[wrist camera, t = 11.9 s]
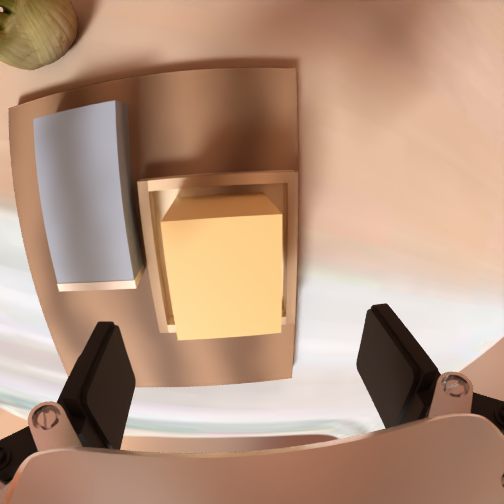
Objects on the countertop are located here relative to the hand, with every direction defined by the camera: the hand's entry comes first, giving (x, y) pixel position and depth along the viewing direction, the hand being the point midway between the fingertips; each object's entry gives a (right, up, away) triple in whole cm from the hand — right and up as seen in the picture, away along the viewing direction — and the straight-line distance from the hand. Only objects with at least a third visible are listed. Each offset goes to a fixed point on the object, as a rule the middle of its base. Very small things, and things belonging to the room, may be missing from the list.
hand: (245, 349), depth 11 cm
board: (-7, +4, +12) cm, 15 cm away
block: (-2, +4, +11) cm, 12 cm away
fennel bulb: (-15, +20, +6) cm, 26 cm away
